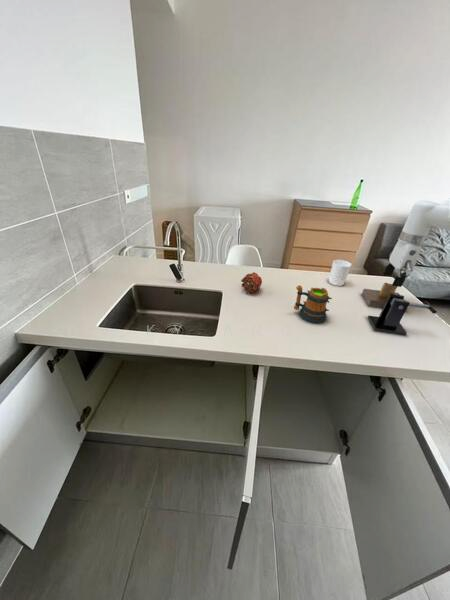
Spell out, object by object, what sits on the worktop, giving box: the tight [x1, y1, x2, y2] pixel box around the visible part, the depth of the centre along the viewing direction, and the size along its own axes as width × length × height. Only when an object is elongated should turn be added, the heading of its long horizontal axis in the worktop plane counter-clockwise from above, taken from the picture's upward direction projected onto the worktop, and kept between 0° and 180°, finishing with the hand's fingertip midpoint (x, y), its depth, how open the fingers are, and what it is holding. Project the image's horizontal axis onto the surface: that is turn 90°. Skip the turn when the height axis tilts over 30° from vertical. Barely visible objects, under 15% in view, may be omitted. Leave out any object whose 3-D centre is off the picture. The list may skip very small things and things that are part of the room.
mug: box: [293, 285, 333, 325], centre depth 88 cm, size 13×10×12 cm
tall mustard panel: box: [379, 282, 398, 297], centre depth 98 cm, size 5×1×6 cm, turn 79°
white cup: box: [328, 259, 353, 287], centre depth 113 cm, size 8×8×10 cm
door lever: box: [390, 298, 438, 315], centre depth 81 cm, size 12×6×2 cm, turn 79°
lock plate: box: [361, 288, 406, 309], centre depth 101 cm, size 14×10×3 cm
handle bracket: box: [367, 294, 411, 336], centre depth 84 cm, size 10×8×12 cm
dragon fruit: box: [240, 272, 263, 293], centre depth 104 cm, size 8×8×12 cm
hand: (391, 280), depth 96 cm, fingers open, 9 cm apart
